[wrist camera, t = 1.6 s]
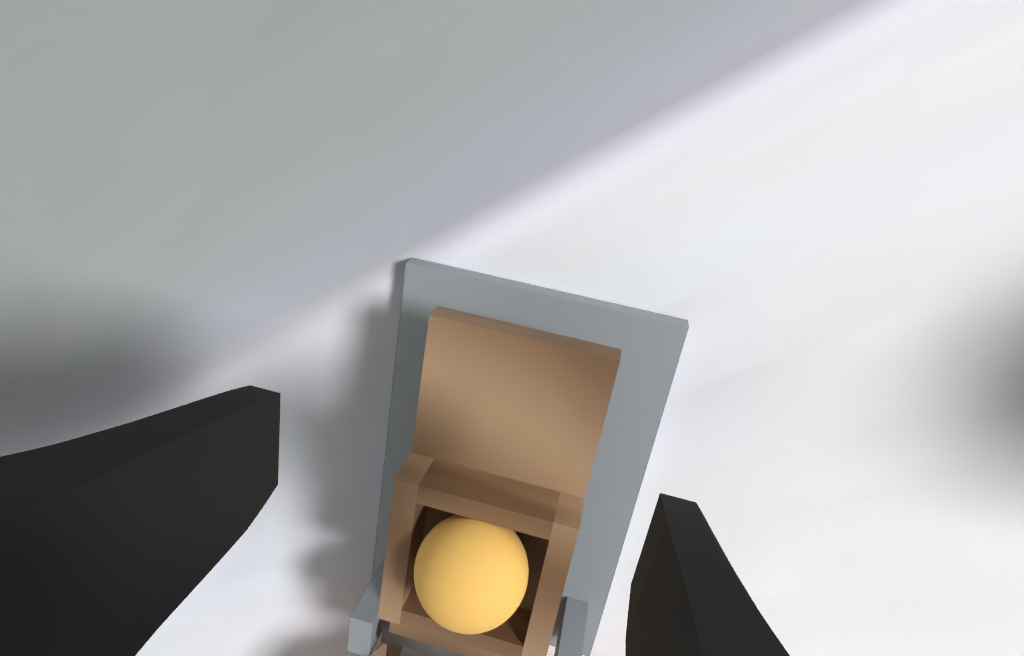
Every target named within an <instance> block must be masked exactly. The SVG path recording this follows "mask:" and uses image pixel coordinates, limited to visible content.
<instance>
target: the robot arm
mask: <svg viewBox="0 0 1024 656" xmlns="http://www.w3.org/2000/svg"><path fill="white" fill-rule="evenodd" d="M279 424H280V393H277V392H273V391H269V390H265V389H262V388H258V387H254V386H246V387H242V388H238V389H234V390H230V391H227V392H224V393H220V394H217V395H214V396H211V397H208V398H204V399H201V400H198V401H195V402H192V403H189V404H186V405H183V406H180V407H177V408H174V409H171V410H168V411H165V412H162V413H159V414H156V415H152V416H149V417H146V418H143V419H140V420H137V421H134V422H131V423H127V424H124V425H120V426H117V427H114V428H110V429H107V430H103V431H100V432H96V433H93V434H90V435H86V436H83V437H79V438H76V439H72V440H69V441H65V442H61V443H58V444H54V445H50V446H46V447H42V448H38V449H34V450H29V451H25V452H20V453H16V454H11V455H7V456H2V457H0V656H135V655H136V654H137V653H138V651H139V650H140V649H141V648H142V647H143V646H144V644H145V643H146V642H147V641H148V640H149V638H150V637H151V636H152V635H153V634H154V632H155V631H156V630H157V629H158V628H159V627H160V626H161V625H162V623H163V622H164V621H165V620H166V619H167V618H168V617H169V616H170V615H171V614H172V612H173V611H174V610H175V609H176V608H177V607H178V606H179V605H180V604H181V603H182V601H183V600H184V599H185V598H186V597H187V596H188V595H189V594H190V593H191V592H192V590H193V589H194V588H195V587H196V586H197V585H198V584H199V583H200V582H201V581H202V579H203V578H204V577H205V576H206V575H207V574H208V573H209V572H210V571H211V570H212V568H213V567H214V566H215V565H216V564H217V563H218V562H219V561H220V560H221V558H222V557H223V556H224V555H225V554H226V553H227V552H228V551H229V549H230V548H231V547H232V546H233V545H234V544H235V543H236V542H237V540H238V539H239V538H240V537H241V536H242V535H243V534H244V532H245V531H246V530H247V529H248V527H249V526H250V525H251V523H252V522H253V520H254V519H255V518H256V516H257V515H258V513H259V512H260V511H261V509H262V508H263V506H264V505H265V503H266V502H267V500H268V499H269V497H270V496H271V494H272V492H273V491H274V489H275V488H276V486H277V485H278V459H279ZM626 656H790V655H789V654H788V653H787V651H786V650H785V648H784V647H783V645H782V644H781V643H780V641H779V640H778V638H777V637H776V635H775V634H774V633H773V631H772V630H771V628H770V627H769V625H768V624H767V622H766V621H765V619H764V618H763V616H762V615H761V613H760V612H759V610H758V609H757V607H756V605H755V604H754V602H753V601H752V599H751V597H750V596H749V594H748V592H747V591H746V589H745V587H744V586H743V584H742V583H741V581H740V579H739V578H738V576H737V574H736V573H735V571H734V569H733V567H732V566H731V564H730V562H729V561H728V559H727V557H726V555H725V553H724V552H723V550H722V548H721V546H720V545H719V543H718V541H717V539H716V537H715V535H714V534H713V532H712V530H711V528H710V526H709V524H708V523H707V521H706V519H705V517H704V515H703V513H702V512H701V510H700V508H699V507H698V505H697V503H696V502H692V501H688V500H684V499H681V498H677V497H673V496H669V495H665V494H662V493H660V495H659V498H658V501H657V505H656V508H655V511H654V514H653V517H652V520H651V523H650V527H649V530H648V533H647V536H646V539H645V542H644V545H643V549H642V552H641V555H640V558H639V561H638V564H637V567H636V571H635V574H634V577H633V580H632V583H631V591H630V600H629V610H628V620H627V631H626Z"/></svg>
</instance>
